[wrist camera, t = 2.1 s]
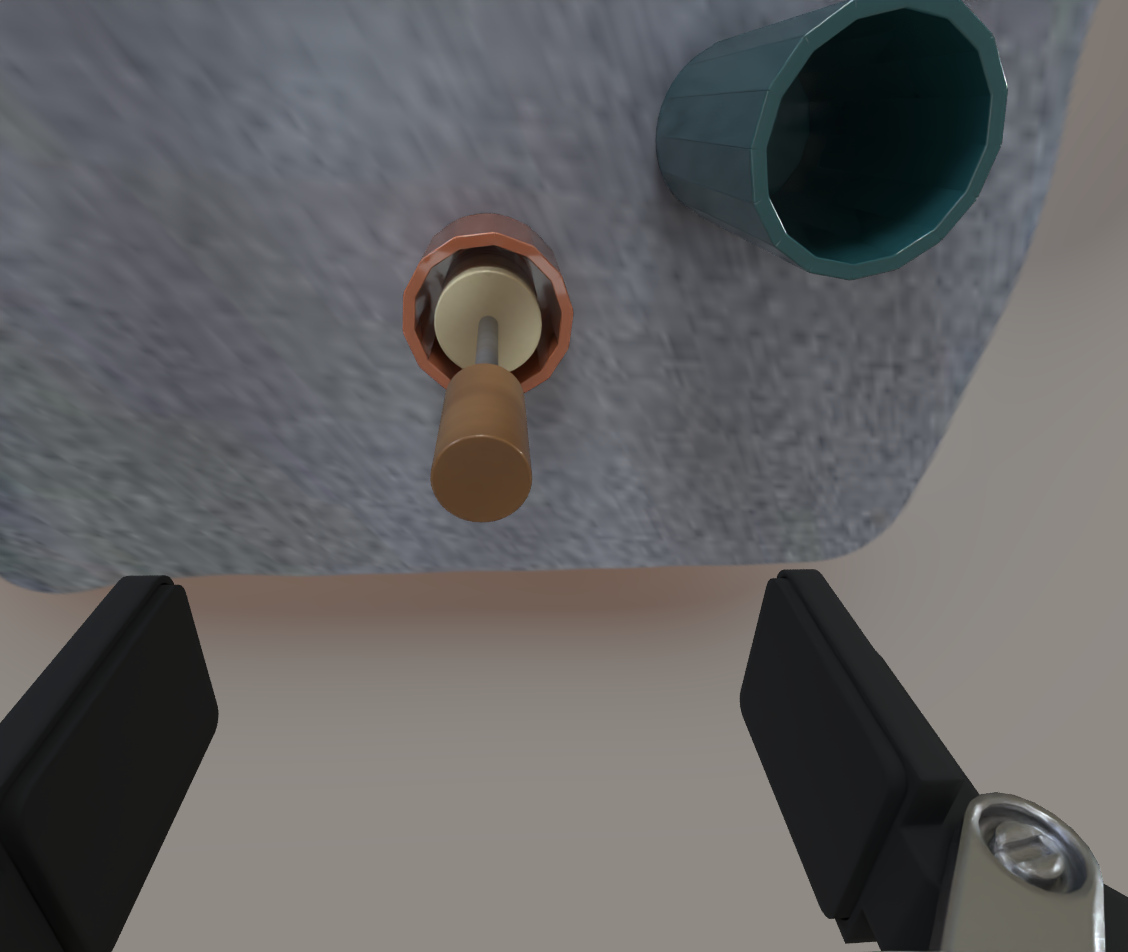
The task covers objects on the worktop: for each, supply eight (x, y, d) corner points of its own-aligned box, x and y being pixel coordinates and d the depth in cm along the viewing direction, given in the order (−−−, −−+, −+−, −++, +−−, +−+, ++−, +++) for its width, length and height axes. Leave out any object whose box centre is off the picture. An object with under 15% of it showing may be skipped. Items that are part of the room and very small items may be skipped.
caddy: (392, 312, 33) (372, 350, 27) (462, 180, 30) (455, 194, 25) (513, 381, 35) (516, 428, 30) (588, 264, 32) (605, 293, 27)
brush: (428, 305, 32) (354, 510, 16) (472, 225, 31) (442, 358, 14) (505, 350, 34) (513, 582, 17) (551, 276, 32) (609, 451, 15)
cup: (623, 160, 30) (699, 189, 19) (725, -4, 28) (884, -85, 16) (742, 249, 33) (873, 322, 21) (847, 107, 30) (1059, 104, 19)
